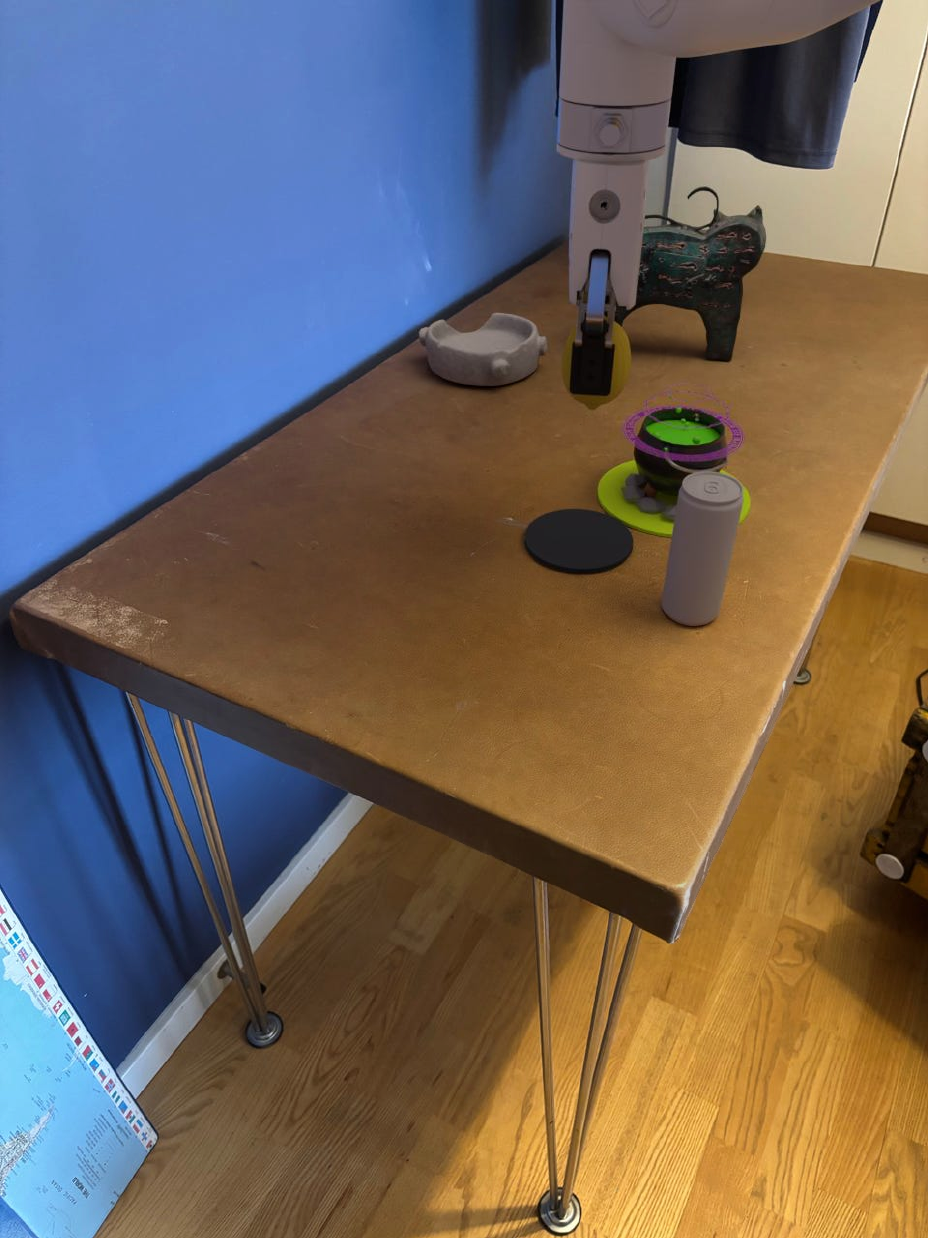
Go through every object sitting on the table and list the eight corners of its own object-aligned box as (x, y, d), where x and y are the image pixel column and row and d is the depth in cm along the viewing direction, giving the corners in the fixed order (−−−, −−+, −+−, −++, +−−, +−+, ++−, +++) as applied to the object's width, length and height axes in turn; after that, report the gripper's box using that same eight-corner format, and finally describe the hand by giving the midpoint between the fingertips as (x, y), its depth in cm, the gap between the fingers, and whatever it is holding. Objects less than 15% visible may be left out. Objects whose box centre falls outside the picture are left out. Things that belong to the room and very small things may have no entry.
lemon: (548, 415, 75) (553, 319, 70) (574, 390, 79) (581, 297, 74) (611, 429, 73) (621, 331, 68) (635, 402, 76) (646, 308, 71)
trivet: (607, 506, 89) (608, 501, 89) (651, 563, 82) (651, 558, 81) (510, 522, 87) (510, 517, 87) (545, 582, 79) (545, 576, 79)
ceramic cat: (744, 349, 119) (776, 184, 106) (744, 369, 114) (776, 198, 102) (593, 336, 123) (606, 176, 110) (586, 355, 118) (599, 189, 105)
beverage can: (656, 623, 75) (676, 497, 67) (664, 589, 78) (683, 466, 71) (716, 633, 74) (743, 506, 66) (721, 599, 77) (747, 475, 70)
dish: (407, 364, 116) (405, 326, 113) (491, 338, 123) (492, 301, 120) (476, 403, 107) (476, 363, 104) (564, 373, 114) (566, 334, 111)
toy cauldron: (721, 555, 82) (743, 445, 76) (571, 510, 89) (579, 405, 82) (770, 482, 92) (793, 379, 85) (632, 446, 99) (644, 348, 92)
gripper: (669, 157, 55) (637, 428, 67) (666, 105, 69) (639, 338, 80) (546, 154, 56) (535, 421, 68) (566, 103, 70) (554, 334, 81)
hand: (592, 374), depth 74 cm, fingers closed on lemon, 5 cm apart
